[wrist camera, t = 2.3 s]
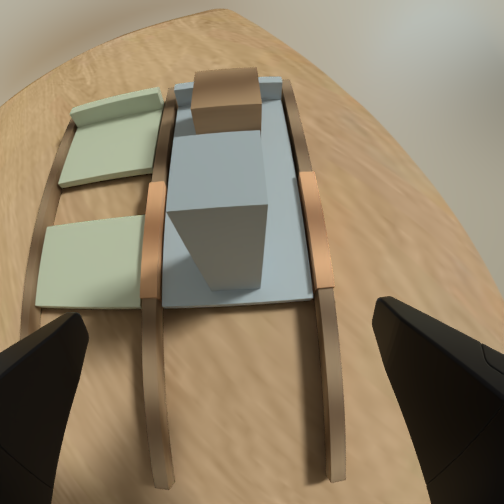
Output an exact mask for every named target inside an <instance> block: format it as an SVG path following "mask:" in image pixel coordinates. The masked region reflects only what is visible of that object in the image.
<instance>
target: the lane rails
mask: <svg viewBox="0 0 504 504" xmlns="http://www.w3.org/2000/svg"><path fill="white" fill-rule="evenodd" d="M174 88H175V87H174ZM174 88H168V93H167V97H166V102H165V107H164V111H163V116H162V121H161V127H160V132H159V137H158V143H157V149H156V155H155V162H154V168H153V175H152V182H151V183H149V189H148V197H147V205H146V214H145V224H144V235H143V247H142V261H141V279H140V298H141V299H142V367H143V387H144V403H145V415H146V426H147V435H148V444H149V452H150V459H151V466H152V473H153V479H154V485H155V488H159V489H167V490H169V489H170V488H171V486H172V485H173V484H174V482H175V479H174V472H173V464H172V457H171V448H170V439H169V430H168V419H167V407H166V392H165V375H164V349H163V307H162V275H163V249H164V231H165V216H166V204H167V192H168V182H169V172H170V163H171V155H172V147H173V139H174V132H175V125H176V118H177V111H178V104H177V100H176V96H175V92H174ZM281 100H282V105H283V110H284V114H285V119H286V124H287V129H288V134H289V139H290V144H291V150H292V155H293V160H294V166H295V171H296V177H297V185H298V191H299V197H300V204H301V210H302V216H303V223H304V229H305V236H306V243H307V251H308V258H309V265H310V273H311V281H312V290H313V294H314V303H315V312H316V321H317V331H318V342H319V353H320V365H321V378H322V392H323V408H324V428H325V455H326V476H327V477H328V479H329V480H330V482H331V483H334V482H339V481H343V480H346V438H345V412H344V394H343V379H342V366H341V354H340V344H339V334H338V325H337V316H336V308H335V300H334V292H333V288H334V287H335V282H334V275H333V268H332V262H331V256H330V249H329V243H328V237H327V232H326V226H325V221H324V215H323V210H322V205H321V200H320V195H319V190H318V185H317V180H316V175H315V171H312V166H311V162H310V157H309V153H308V148H307V144H306V140H305V136H304V131H303V127H302V123H301V119H300V115H299V111H298V108H297V104H296V100H295V96H294V93H293V89H292V85H291V82H290V80H282V94H281ZM77 128H78V127H77V125H76V124H75V122H74V120H73V119H72V118H71V120H70V122H69V125H68V127H67V129H66V132H65V134H64V136H63V139H62V141H61V144H60V147H59V149H58V152H57V154H56V157H55V160H54V163H53V166H52V168H51V171H50V174H49V177H48V181H47V184H46V187H45V190H44V194H43V197H42V201H41V204H40V208H39V212H38V216H37V220H36V224H35V228H34V233H33V237H32V242H31V247H30V253H29V258H28V264H27V270H26V277H25V285H24V293H23V303H22V315H21V333H20V340H22V339H23V338H25V337H27V336H28V335H30V334H31V333H33V332H35V331H36V330H38V329H40V318H41V307H38V306H35V302H36V292H37V283H38V275H39V268H40V262H41V255H42V250H43V244H44V239H45V234H46V229H47V227H49V226H53V224H54V220H55V215H56V211H57V207H58V203H59V199H60V195H61V192H62V188H61V187H60V186H59V184H58V183H59V179H60V176H61V173H62V170H63V167H64V164H65V161H66V158H67V155H68V152H69V149H70V146H71V144H72V141H73V138H74V136H75V133H76V131H77Z"/></svg>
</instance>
